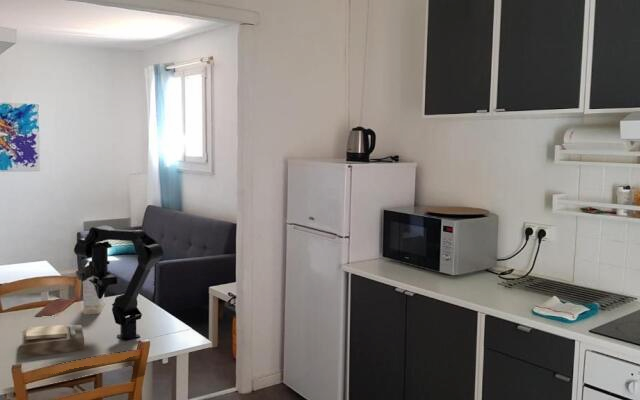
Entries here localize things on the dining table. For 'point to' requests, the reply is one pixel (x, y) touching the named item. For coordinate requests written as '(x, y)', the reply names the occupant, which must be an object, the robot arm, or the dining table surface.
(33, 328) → the oak plank
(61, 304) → the wooden tablet
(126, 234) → the robot arm
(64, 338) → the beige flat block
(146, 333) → the dining table surface
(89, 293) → the coffeecake box
